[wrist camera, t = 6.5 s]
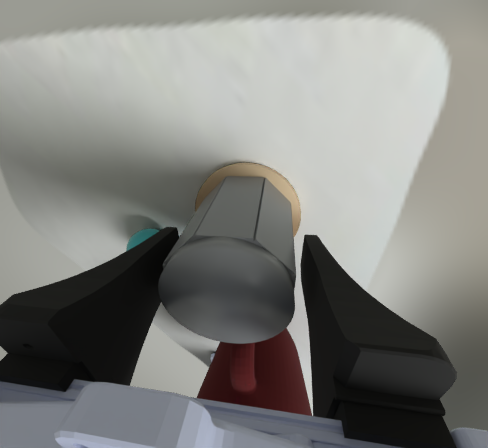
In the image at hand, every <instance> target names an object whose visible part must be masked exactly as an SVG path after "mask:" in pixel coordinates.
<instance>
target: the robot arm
mask: <svg viewBox="0 0 488 448" xmlns="http://www.w3.org/2000/svg"><path fill="white" fill-rule="evenodd" d="M178 239H179V235H178V230H177V228H174V227H166V228H164V229H162V230H161V231H159V232H157V233H156V234H154V235H152V236H151V237H149V238H148V239H146V240H145V241H143V242H141V243H140V244H138V245H137V246H135V247H133V248H131V249H130V250H128V251H126V252H125V253H123V254H121V255H119V256H118V257H116V258H114V259H112V260H110V261H108V262H106V263H104V264H102V265H99V266H97V267H95V268H93V269H90V270H88V271H85V272H83V273H80V274H78V275H76V276H73V277H70V278H68V279H65V280H62V281H59V282H56V283H53V284H50V285H46V286H43V287H39V288H36V289H33V290H29V291H25V292H22V293H18V294H14V295H12V296H11V297H10V298H8V299H7V300H6V301H5V302H3V304H1V305H0V346H1V347H2V348H3V349H4V350H5V351H6V352H7V353H8V354H7V355H6V356H5V357H4V358H3V359H2V360H1V361H0V448H488V431H486V430H479V429H473V428H455V429H453V430H451V431H450V432H449V430H448V428H447V426H446V424H445V422H444V419H443V417H442V416H444V415H445V409H444V407H443V405H442V403H441V401H440V398H441V397H442V396H443V395H444V394H445V393H446V391H448V390H449V389H450V387H451V386H452V385H453V383H454V382H455V380H456V377H457V372H456V371H455V369H454V367H453V365H452V364H451V362H450V360H449V358H448V357H447V355H446V353H445V351H444V350H443V348H442V347H441V345H440V344H439V343H438V341H437V340H436V339H435V338H434V337H432V336H430V335H429V334H427V333H426V332H424V331H422V330H421V329H419V328H417V327H415V326H414V325H412V324H410V323H409V322H407V321H406V320H404V319H403V318H401V317H400V316H398V315H397V314H395V313H394V312H392V311H391V310H389V309H388V308H387V307H385V306H384V305H383V304H381V303H380V302H379V301H377V300H376V299H375V298H374V297H372V296H371V295H370V294H369V293H367V292H366V291H365V290H364V289H363V288H362V287H361V286H359V285H358V284H357V283H356V282H355V281H354V280H353V279H352V278H351V277H350V276H349V275H348V274H347V273H346V272H345V271H344V270H343V268H342V267H341V266H340V265H339V264H338V263H337V261H336V260H335V259H334V258H333V257H332V255H331V254H330V253H329V251H328V250H327V249H326V247H325V246H324V245H323V243H322V242H321V240H320V239H319V237H318V236H317V235H305V236H304V243H303V250H302V258H301V282H302V289H303V295H304V300H305V306H306V312H307V318H308V326H309V338H310V353H311V371H312V393H313V416H308V415H302V414H295V413H289V412H283V411H276V410H270V409H263V408H257V407H250V406H244V405H238V404H231V403H225V402H218V401H212V400H205V399H199V398H192V397H188V396H184V395H180V394H177V393H172V392H165V391H158V390H153V389H145V388H139V387H133V386H130V383H131V379H132V376H133V373H134V370H135V367H136V364H137V361H138V358H139V355H140V352H141V349H142V346H143V343H144V341H145V338H146V336H147V333H148V330H149V328H150V326H151V323H152V321H153V318H154V316H155V313H156V311H157V309H158V307H159V305H160V303H161V299H160V296H159V291H158V284H159V278H160V276H161V273H162V272H163V270H164V269H163V263H164V261H165V259H166V258H167V256H168V255H169V253H170V252H171V250H172V248H173V247H174V245H175V244H176V242H177V241H178ZM214 355H215V353H213V354H211V357H210V360H211V362H212V360H213V358H214Z"/></svg>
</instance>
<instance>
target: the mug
mask: <svg viewBox="0 0 488 448" xmlns="http://www.w3.org/2000/svg"><path fill="white" fill-rule="evenodd" d="M197 398H199V399H205V400H212V401H218V402H225V403H231V404H238V405H244V406H250V407H257V408H263V409H270V410H276V411H283V412H289V413H295V414H302V415H308V416H312V413H311V409H310V404H309V400H308V395H307V391H306V387H305V382H304V378H303V373H302V369H301V365H300V360H299V356H298V352H297V349H296V346H295V343H294V341H293V339H292V337H291V335H290V334H289V332H288V330H287V328H285V329H284V330H283V331H282V332H280V333H279V334H278V335H276V336H274V337H272V338H269V339H267V340H264V341H260V342H254V343H245V344H238V343H227V342H221V341H220V343H219V346H218V348H217V351H216V353H215V355H214V358H213V360H212V362H211V365H210V367H209V370H208V372H207V374H206V377H205V379H204V381H203V384H202V386H201V388H200V391H199V393H198V396H197Z"/></svg>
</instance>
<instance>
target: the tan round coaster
mask: <svg viewBox="0 0 488 448" xmlns="http://www.w3.org/2000/svg"><path fill="white" fill-rule="evenodd" d="M227 176H252V177H264V179H265V178H267V179H268V180H269V181H270V182H271V183H272V184H273V185H274V186H275V187H276V188H277V189H278V190H279V191H280V192H281V193H282V194H283V195H284V196H285V197H286V198H287V199H288V200H289V201H290V202H291V210H292V224H293V238H294V236H295V235H296V233H297V231H298V228H299V225H300V220H301V210H300V203H299V199H298V196H297V194H296V192H295V190H294V188H293V187H292V185H291V184H290V183H289V182H288V180H287V179H286V178H284V177H283V176H282V175H281V174H279V173H278V172H277V171H275V170H273V169H271V168H269V167H266V166H263V165H260V164H255V163H236V164H231V165H228V166H225V167H223V168H221V169H219V170H217V171H216V172H214V173H213V174H212V175H211V176H210V177H209V178H208V179H207V180H206V181H205V182H204V184H203V185H202V187H201V188H200V190H199V192H198V195H197V198H196V203H195V212H196V211H197V209H198V208H199V206H200V205H201V203H202V201H203V200H204V199H205V197H206V196H207V195H208V194H209V193H210V192H211V191H212V190H213V189H214V188H215V187H216V186H217V185H218V184H219V183H220V182H221V181H222V180H223V179H224V178H225V177H227Z"/></svg>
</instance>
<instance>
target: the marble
mask: <svg viewBox="0 0 488 448" xmlns="http://www.w3.org/2000/svg"><path fill="white" fill-rule="evenodd" d="M157 232H159V230H156V229H143V230H141V231H138V232H137V233H135V234H134V235H133V236H132V237H131V238H130V240H129V242H128V244H127V250H126V251H128V250H130V249H131V248H133V247H135V246H137V245H138V244H140V243H141V242H143V241H145V240H146V239H148V238H149V237H151V236H152V235H154V234H156V233H157Z"/></svg>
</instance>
